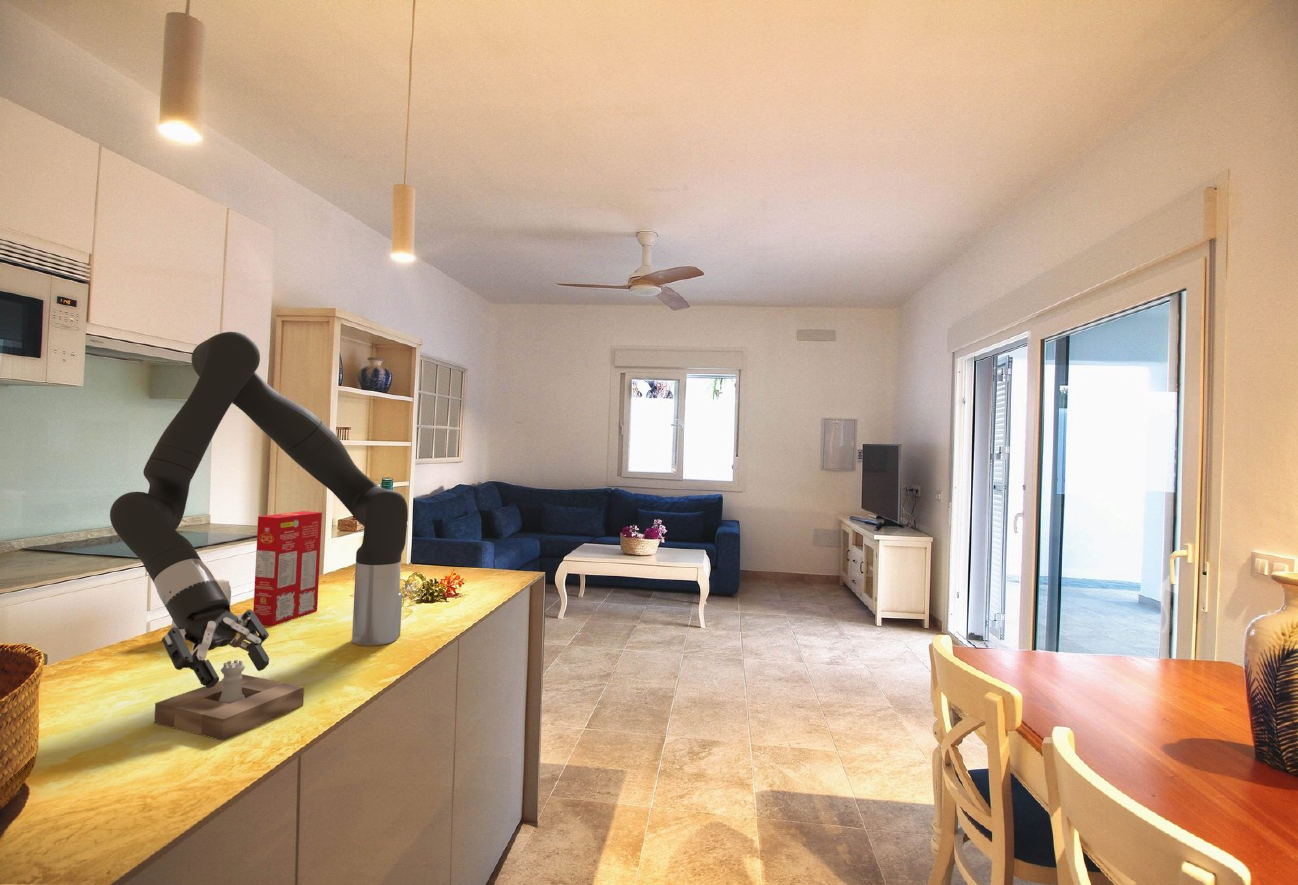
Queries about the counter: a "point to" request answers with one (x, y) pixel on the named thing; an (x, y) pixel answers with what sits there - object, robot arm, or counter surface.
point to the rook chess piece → (232, 682)
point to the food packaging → (287, 566)
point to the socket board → (228, 707)
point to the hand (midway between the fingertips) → (240, 675)
